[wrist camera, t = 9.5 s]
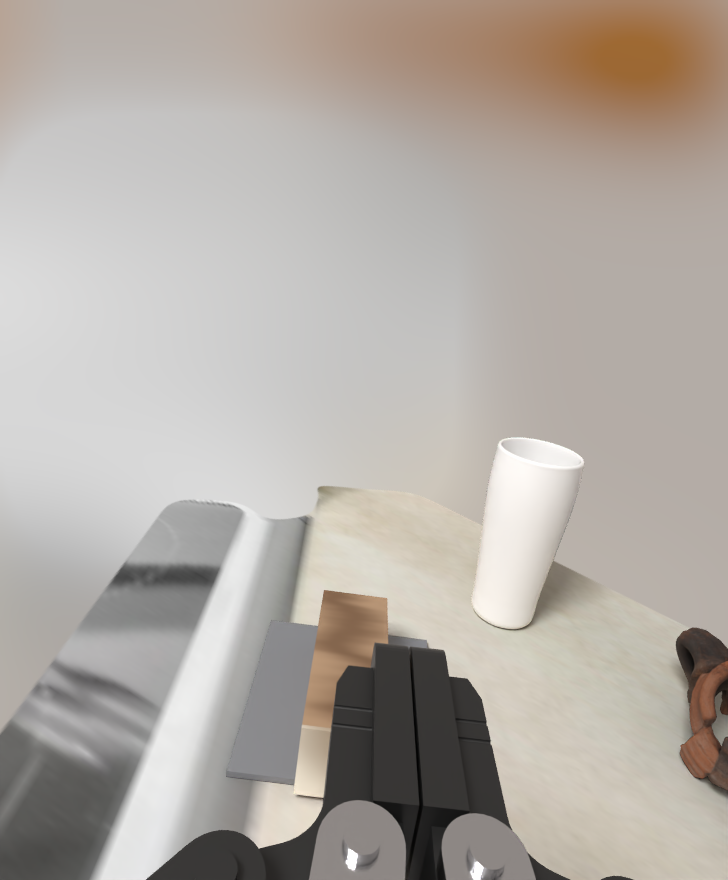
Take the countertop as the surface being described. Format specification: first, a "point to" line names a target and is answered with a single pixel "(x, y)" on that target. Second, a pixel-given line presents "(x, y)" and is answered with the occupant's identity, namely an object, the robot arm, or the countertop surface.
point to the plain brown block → (334, 675)
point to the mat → (280, 704)
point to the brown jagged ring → (705, 703)
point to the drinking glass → (522, 527)
